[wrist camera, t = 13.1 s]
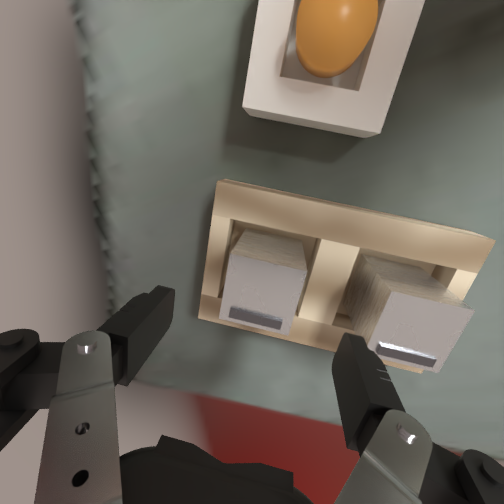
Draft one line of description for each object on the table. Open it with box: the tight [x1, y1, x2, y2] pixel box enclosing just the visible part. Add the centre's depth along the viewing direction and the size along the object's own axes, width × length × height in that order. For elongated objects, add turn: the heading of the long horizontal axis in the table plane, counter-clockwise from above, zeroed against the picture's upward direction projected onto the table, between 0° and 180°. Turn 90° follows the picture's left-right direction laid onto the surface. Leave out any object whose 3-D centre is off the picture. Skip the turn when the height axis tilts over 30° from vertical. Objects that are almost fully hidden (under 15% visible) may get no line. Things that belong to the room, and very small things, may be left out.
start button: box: [295, 0, 378, 78], centre depth 13 cm, size 4×4×2 cm
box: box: [242, 0, 425, 138], centre depth 15 cm, size 8×8×3 cm
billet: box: [343, 254, 475, 373], centre depth 17 cm, size 4×4×6 cm
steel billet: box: [219, 228, 307, 336], centre depth 18 cm, size 4×4×6 cm
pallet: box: [198, 179, 496, 374], centre depth 19 cm, size 11×18×2 cm, turn 79°
